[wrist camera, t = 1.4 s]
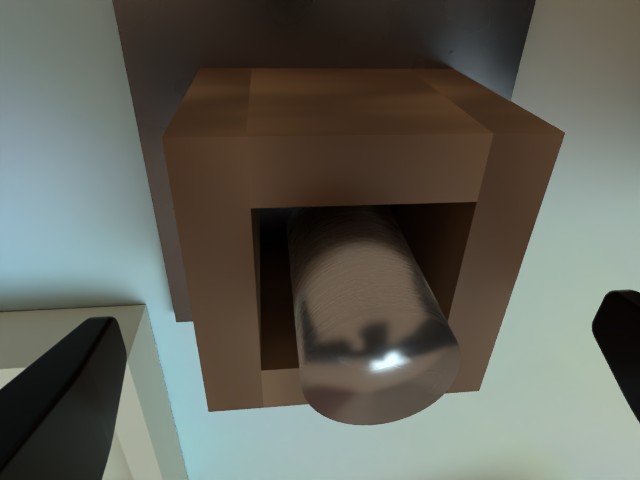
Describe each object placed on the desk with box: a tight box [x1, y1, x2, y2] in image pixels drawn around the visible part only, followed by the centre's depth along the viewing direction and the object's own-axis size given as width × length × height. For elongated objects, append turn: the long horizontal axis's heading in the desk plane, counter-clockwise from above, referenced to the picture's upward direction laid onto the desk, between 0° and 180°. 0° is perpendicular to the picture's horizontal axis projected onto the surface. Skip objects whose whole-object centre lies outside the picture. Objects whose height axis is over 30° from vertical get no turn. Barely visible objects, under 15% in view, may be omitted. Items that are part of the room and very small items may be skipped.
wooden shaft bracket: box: [162, 68, 565, 412], centre depth 11 cm, size 6×6×5 cm
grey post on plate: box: [113, 0, 536, 425], centre depth 10 cm, size 10×10×7 cm
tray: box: [0, 305, 188, 480], centre depth 16 cm, size 11×11×2 cm
